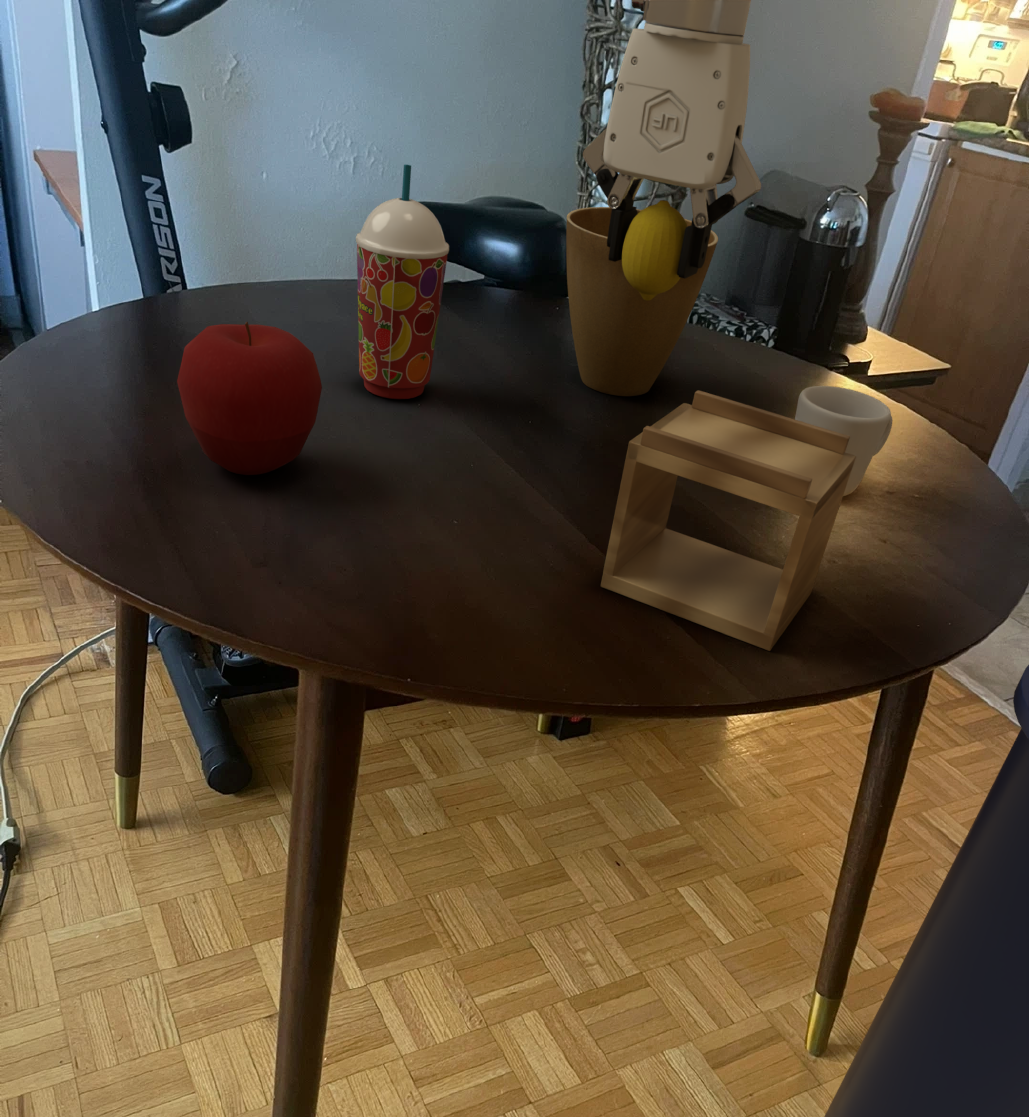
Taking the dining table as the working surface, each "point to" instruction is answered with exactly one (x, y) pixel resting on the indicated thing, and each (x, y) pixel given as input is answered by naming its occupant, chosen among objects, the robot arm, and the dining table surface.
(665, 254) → the lemon
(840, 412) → the cup
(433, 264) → the smoothie
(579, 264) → the plant pot
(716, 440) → the shelf
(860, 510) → the dining table surface
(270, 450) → the apple
